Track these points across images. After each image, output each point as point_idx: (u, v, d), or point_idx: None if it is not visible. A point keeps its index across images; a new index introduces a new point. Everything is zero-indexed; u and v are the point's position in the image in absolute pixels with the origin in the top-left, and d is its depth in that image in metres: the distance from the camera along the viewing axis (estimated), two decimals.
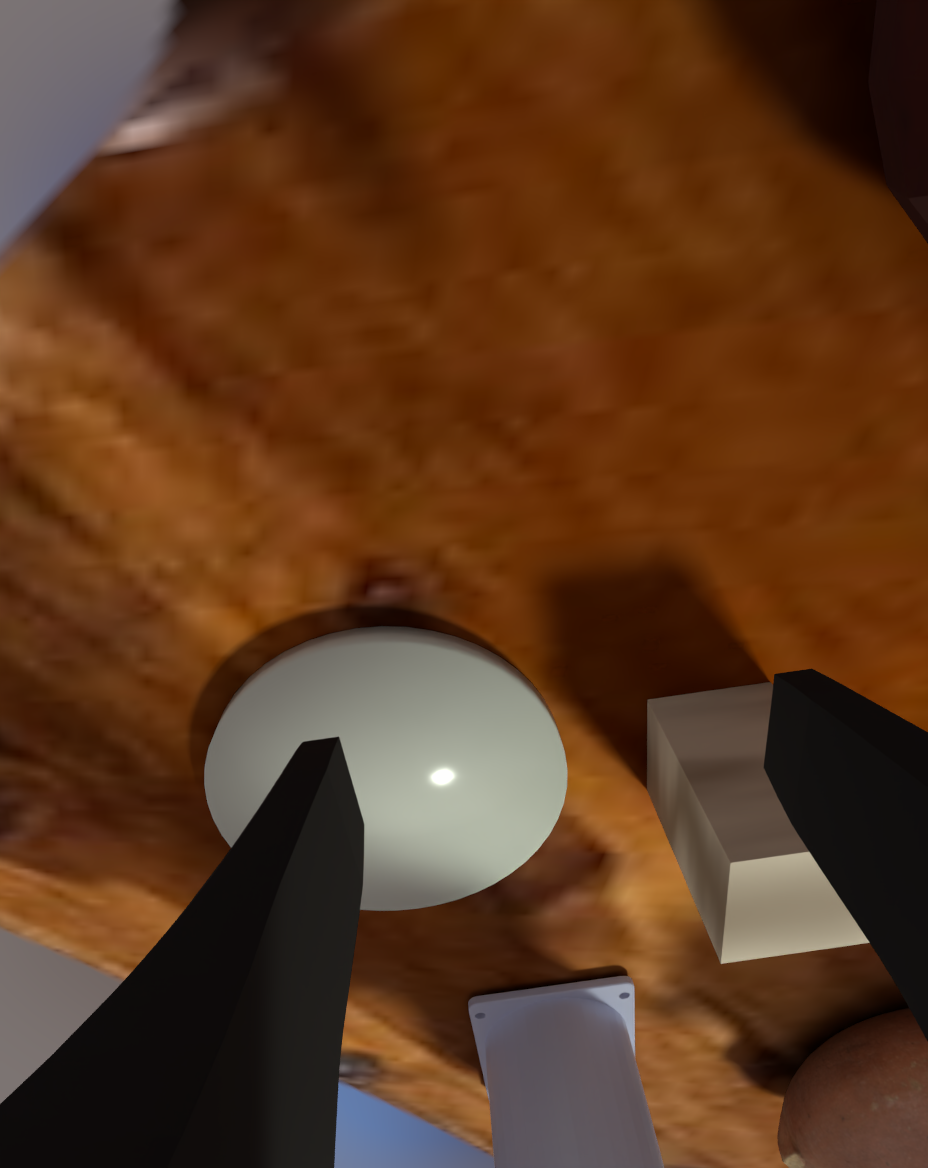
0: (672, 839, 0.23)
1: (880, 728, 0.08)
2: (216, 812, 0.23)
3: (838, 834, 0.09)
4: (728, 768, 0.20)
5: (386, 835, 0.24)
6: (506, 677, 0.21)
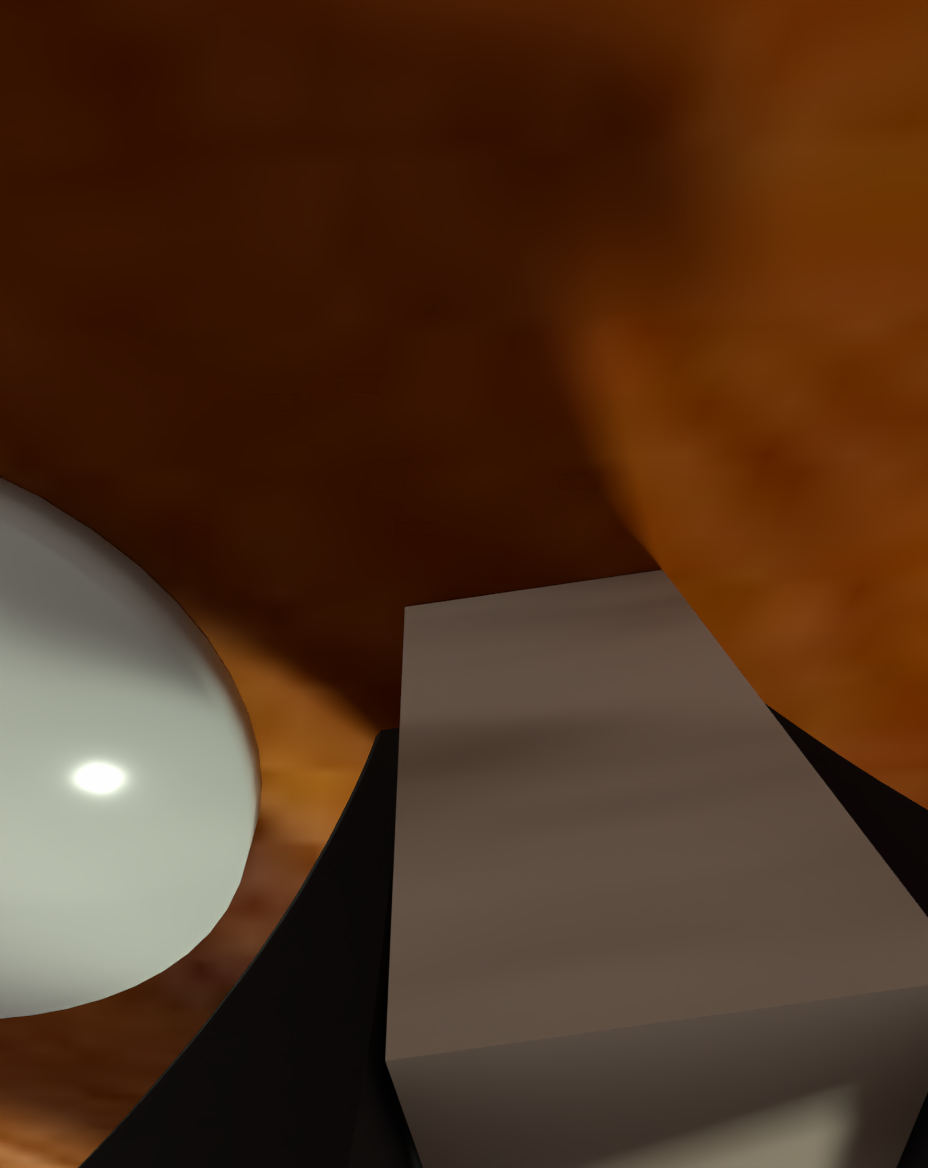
0: None
1: None
2: None
3: None
4: (508, 745, 0.08)
5: None
6: (15, 532, 0.09)
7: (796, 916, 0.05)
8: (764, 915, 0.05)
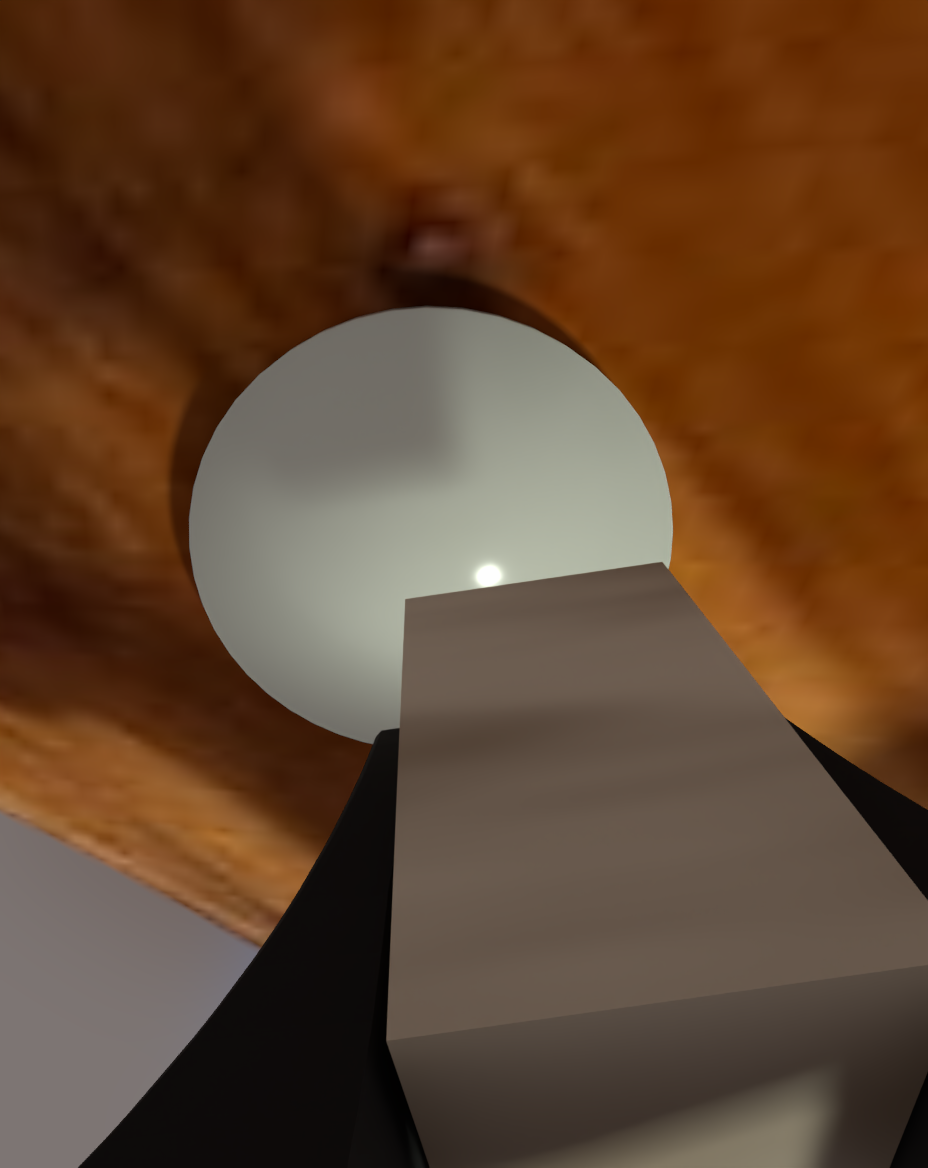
0: None
1: None
2: (206, 593, 0.17)
3: None
4: (508, 734, 0.08)
5: None
6: (600, 374, 0.15)
7: (794, 898, 0.05)
8: (765, 897, 0.05)
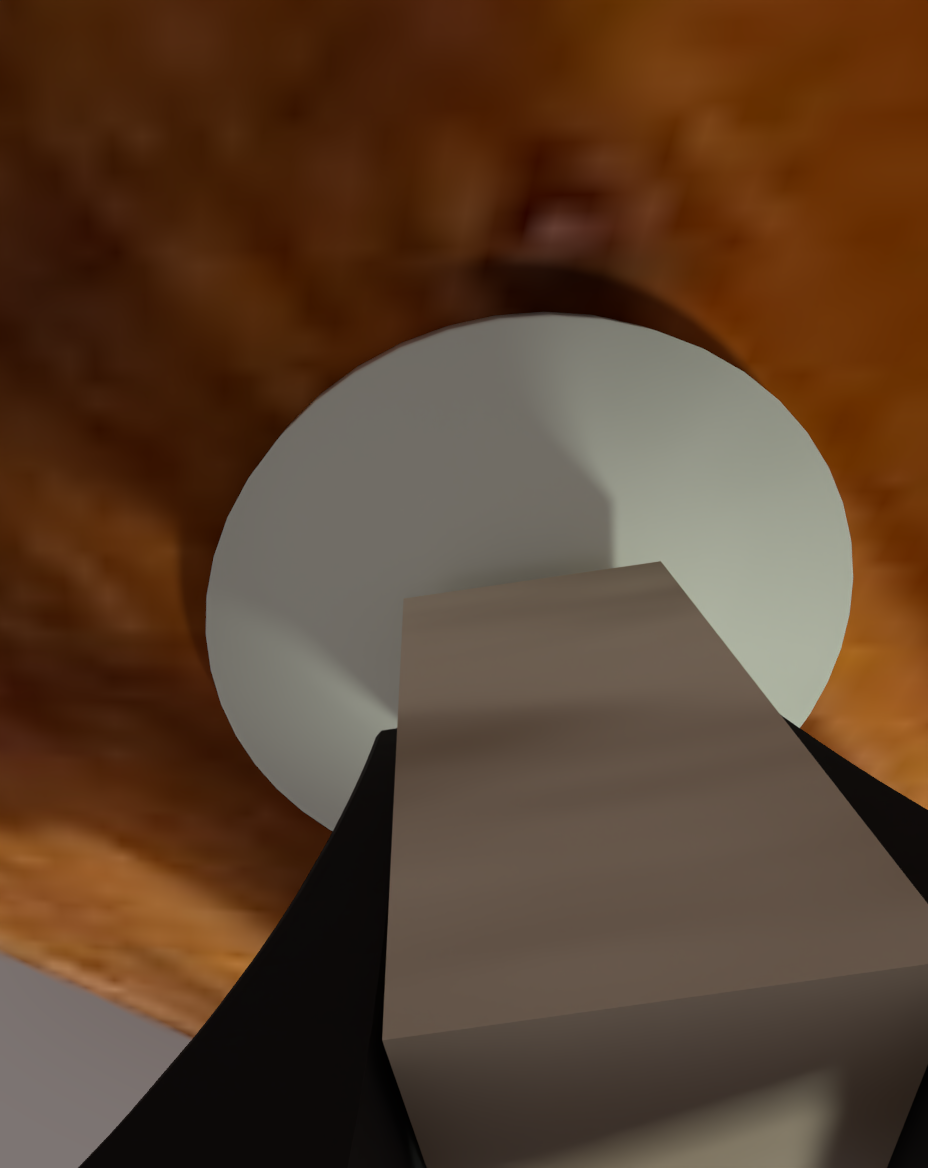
0: None
1: None
2: (227, 691, 0.13)
3: None
4: (506, 733, 0.08)
5: None
6: (784, 411, 0.11)
7: (792, 898, 0.05)
8: (762, 898, 0.05)
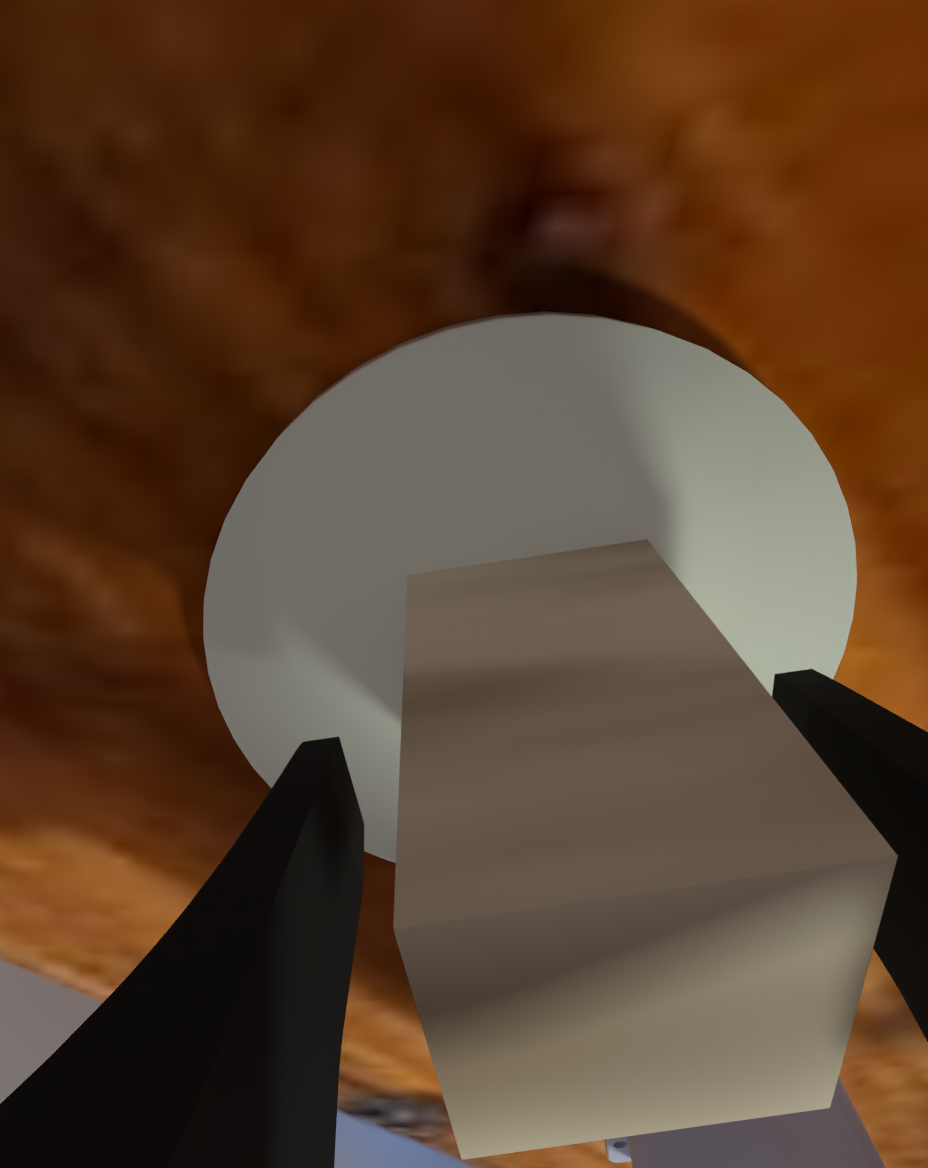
0: None
1: (880, 728, 0.08)
2: (225, 694, 0.13)
3: None
4: (502, 688, 0.08)
5: None
6: (787, 412, 0.11)
7: (750, 815, 0.06)
8: (723, 814, 0.06)
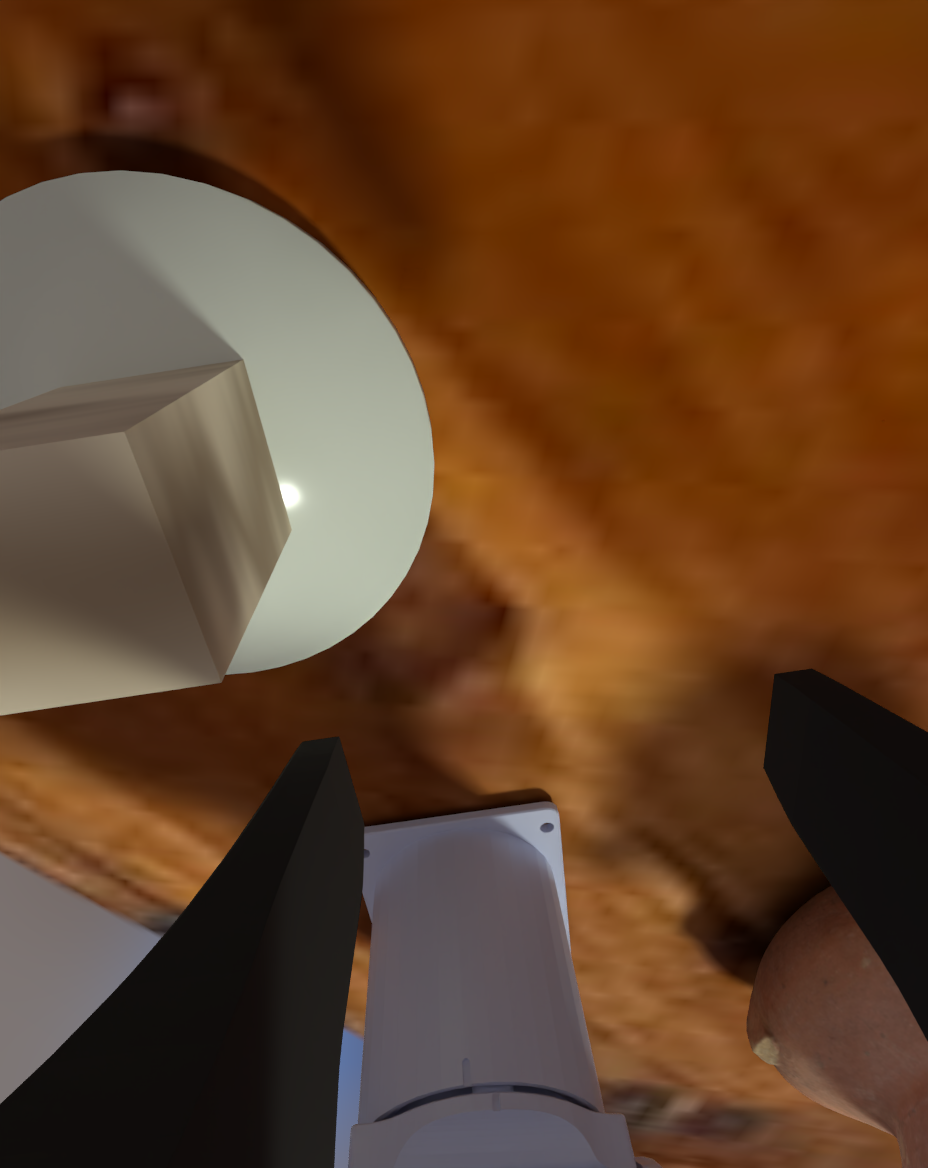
0: None
1: (880, 728, 0.08)
2: None
3: (838, 834, 0.09)
4: (29, 414, 0.12)
5: None
6: (323, 251, 0.14)
7: (77, 430, 0.10)
8: (63, 432, 0.10)
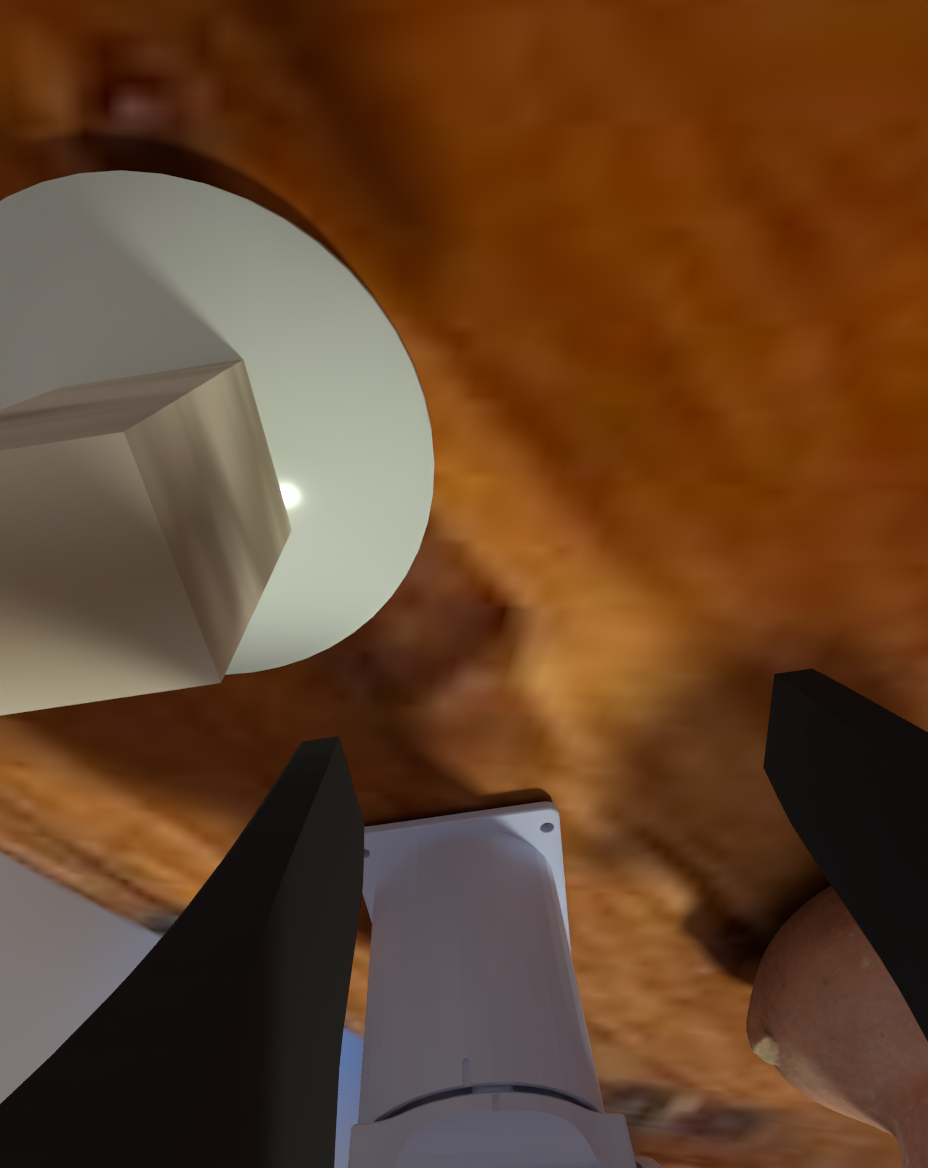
0: None
1: (880, 728, 0.08)
2: None
3: (838, 834, 0.09)
4: (29, 414, 0.12)
5: None
6: (323, 251, 0.14)
7: (76, 430, 0.10)
8: (62, 432, 0.10)
